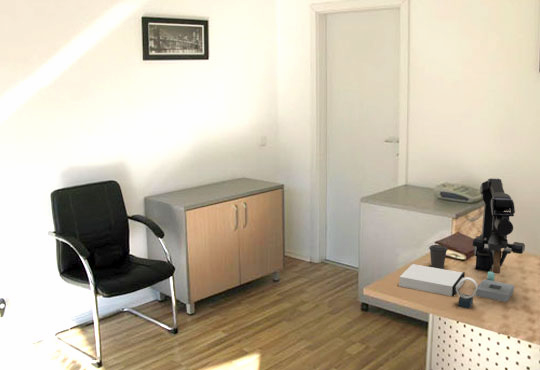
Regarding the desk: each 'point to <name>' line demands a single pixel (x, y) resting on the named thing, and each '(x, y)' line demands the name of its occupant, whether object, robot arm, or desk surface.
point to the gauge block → (495, 290)
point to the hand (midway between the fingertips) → (496, 265)
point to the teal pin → (490, 276)
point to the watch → (464, 299)
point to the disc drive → (431, 279)
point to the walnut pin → (497, 262)
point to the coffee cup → (438, 256)
